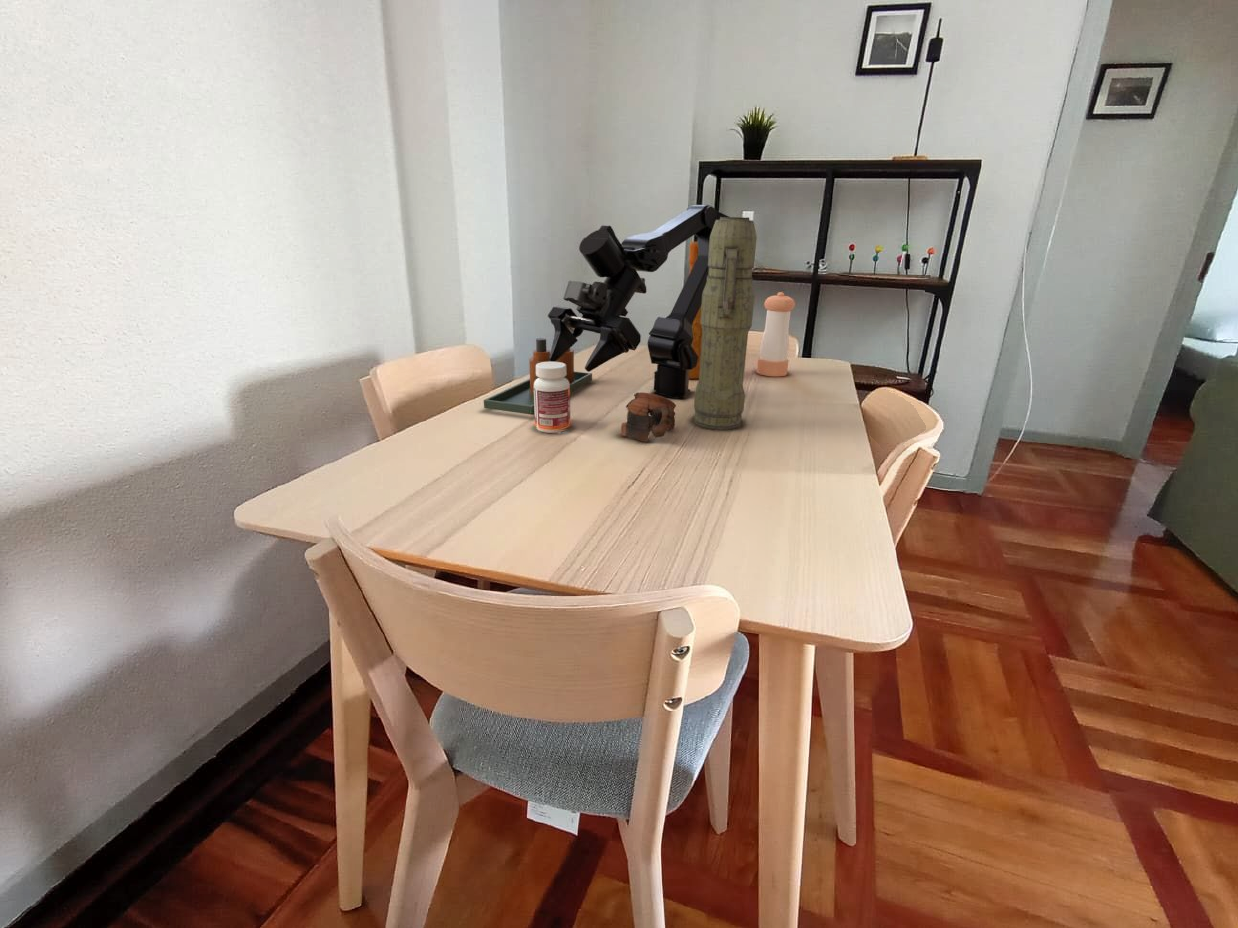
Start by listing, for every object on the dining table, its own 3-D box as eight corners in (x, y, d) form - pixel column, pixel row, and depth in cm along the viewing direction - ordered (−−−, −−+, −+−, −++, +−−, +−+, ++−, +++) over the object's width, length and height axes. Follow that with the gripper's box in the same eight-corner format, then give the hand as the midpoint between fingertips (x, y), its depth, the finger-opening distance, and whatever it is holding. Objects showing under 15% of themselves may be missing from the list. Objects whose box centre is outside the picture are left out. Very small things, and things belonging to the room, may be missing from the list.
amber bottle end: (577, 380, 135) (577, 330, 131) (568, 386, 131) (567, 334, 127) (557, 378, 137) (556, 329, 133) (547, 383, 132) (545, 332, 128)
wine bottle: (712, 380, 141) (723, 243, 129) (669, 379, 141) (676, 242, 130) (706, 370, 150) (716, 241, 139) (667, 369, 150) (673, 240, 139)
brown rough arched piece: (607, 434, 106) (621, 389, 107) (649, 450, 111) (663, 407, 112) (644, 437, 96) (659, 387, 96) (689, 455, 101) (703, 407, 101)
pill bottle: (576, 430, 106) (576, 366, 102) (545, 436, 103) (543, 370, 99) (559, 420, 111) (558, 359, 107) (529, 426, 108) (526, 363, 104)
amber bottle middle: (558, 391, 127) (558, 338, 123) (547, 397, 122) (546, 342, 118) (537, 388, 128) (535, 336, 124) (526, 394, 124) (523, 340, 120)
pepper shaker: (750, 372, 149) (758, 291, 142) (767, 368, 154) (776, 289, 147) (775, 378, 144) (785, 295, 137) (792, 373, 149) (803, 293, 142)
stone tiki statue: (737, 413, 117) (756, 218, 104) (746, 433, 107) (768, 218, 93) (691, 411, 118) (704, 216, 105) (695, 431, 107) (710, 216, 94)
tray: (592, 383, 136) (592, 373, 136) (532, 418, 112) (531, 406, 111) (551, 378, 140) (551, 368, 139) (484, 411, 115) (483, 400, 114)
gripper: (555, 260, 109) (507, 328, 106) (631, 267, 97) (581, 344, 94) (586, 302, 117) (543, 366, 114) (661, 313, 105) (615, 386, 102)
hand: (568, 365), depth 106 cm, fingers open, 9 cm apart
